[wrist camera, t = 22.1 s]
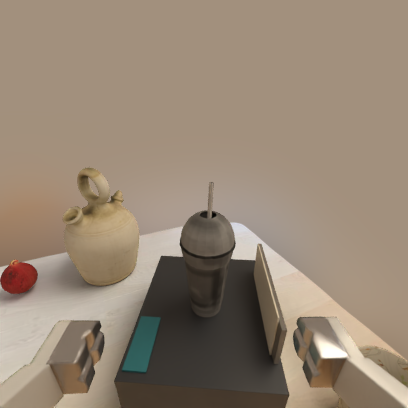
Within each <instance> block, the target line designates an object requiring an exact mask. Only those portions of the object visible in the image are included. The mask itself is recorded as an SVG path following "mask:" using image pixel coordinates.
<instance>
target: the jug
mask: <svg viewBox="0 0 408 408" xmlns="http://www.w3.org/2000/svg"><path fill="white" fill-rule="evenodd" d="M88 177H89V178H90V179H91V180H92V181H93V182H94V183H95V185H96V187H97V189H98V192H99V196H97V195H96V194H94V193H93V191H92V190H91V188H90V185H89V181H88ZM77 184H78V188H79V190H80V192H81V194H82V196H83V197H84V198H85V199H86V200H87V201H88V205H87V206H86V207H84V208H82V209H81V208H79V207H72V208H70V209H68V210H67V211H66V212H65V214H64V215H63V222H64V223H65V224H67V225H66V228H65V233H64V243H65V248H66V250H67V253H68V255H69V256H70V258H71V260H72V261H73V263H74V265H75V266H76V268H77V270H78V271H79V273H80V275H81V276H82V277H83V279H84V280H85V281H86V282H87V283H89V284H92V285H97V286H104V285H110V284H114V283H117V282H119V281H121V280H123V279H124V278H126V277H127V276H129V275H130V274H131V272H132V271H133V270H134V268H135V266H136V261H137V255H138V247H139V228H138V224H137V222H136V219H135V218H134V216H133V215H132V214H131V212H129V211H128V210H127V209H126V208H124V207H123V206H122V205H121V203H122V202H123V201H124V200H123V198H122V192H121V191H119V190H118V191H117V192H116V193H115V194H114V195H113V196H111V201H110V202H107V201H108V199H109V196H110V189H109V185H108V182H107V181H106V179H105V178H104V176H103V175H102V174H101V173H100V172H99V171H98V170H96V169H94V168H85V169H83V170H81V171H80V172H79V174H78V177H77Z"/></svg>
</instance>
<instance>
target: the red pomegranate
mask: <svg viewBox="0 0 408 408" xmlns="http://www.w3.org/2000/svg"><path fill="white" fill-rule="evenodd" d="M37 276H38V274H37V271H36V269H35V268H34V267H33V266H32V265H30V264H28V263H22V262H20V263H18V260H13V261H11V263H10V265H9V266H8V267H7V268H6V269H5V270H4V272H3V273H2V275H1V279H0V282H1V285H2V288H3V289H4V290H5V291H7V292H9V293H11V294H20V293H23V292H27V291H28V290H29V289H30V288H31V287H32V286H33V285H34V284H35V282H36V280H37Z"/></svg>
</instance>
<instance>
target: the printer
mask: <svg viewBox="0 0 408 408" xmlns="http://www.w3.org/2000/svg"><path fill="white" fill-rule="evenodd" d="M286 332H287V328H286V325H285V322H284V318H283V315H282V312H281V308H280V305H279V302H278V298H277V295H276V291H275V288H274V285H273V281H272V278H271V275H270V271H269V268H268V265H267V261H266V258H265V255H264V251H263V248H262V244H258V246H257V253H256V261H254V260H234V259H230V261H229V267H228V272H227V278H226V284H225V289H224V295H223V300H222V303H221V308H220V311H219V312H218V313H217V314H216V315H215V316H212V317H201V316H199V315H197V314H196V313H195V312H194V311H193V309H192V304H191V301H190V295H189V287H188V280H187V273H186V265H185V259H184V257H173V256H161V258H160V261H159V263H158V266H157V269H156V271H155V274H154V277H153V279H152V282H151V285H150V287H149V290H148V293H147V295H146V298H145V301H144V303H143V306H142V309H141V311H140V314H139V317H138V319H137V322H136V325H135V327H134V330H133V332H132V335H131V338H130V340H129V343H128V346H127V348H126V351H125V354H124V356H123V359H122V362H121V364H120V367H119V370H118V372H117V375H116V378H115V380H114V382H115V386H116V389H117V393H118V397H119V400H120V404H121V408H285V407H286V403H287V400H288V397H289V392H288V388H287V384H286V379H285V375H284V371H283V367H282V363H281V359H280V356H281V352H282V348H283V344H284V340H285V336H286Z"/></svg>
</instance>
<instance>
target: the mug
mask: <svg viewBox="0 0 408 408" xmlns="http://www.w3.org/2000/svg"><path fill="white" fill-rule="evenodd" d="M358 348H359V350H360V352H361V353H362V355H363V356H364V358H369V359H371V360H372V361H373V362H375V363H376V364H377V365H379V366H380V367H381V368H383V369H384V370H385V371H386V372H388V373H389V374H390V375H392V376H393V377H394V378H396V379H397V380H398V381H400V382H401V383H402V384H404V385H405V386H406V387H407V388H408V362H407V361H406V360H405V359H403V358H401V357H400V356H398V355H396V354H394V353H393V352H390V351H388V350H386V349H383V348H380V347H376V346H369V345H365V346H359V347H358ZM338 408H349V407H348V405H347V404H346V403H345V402H344V401H343V400H342V399H341V398H339V403H338Z"/></svg>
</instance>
